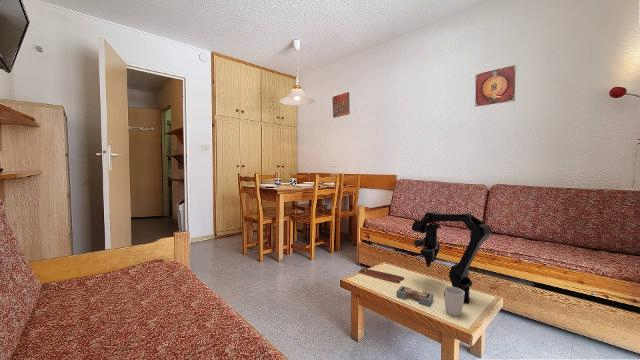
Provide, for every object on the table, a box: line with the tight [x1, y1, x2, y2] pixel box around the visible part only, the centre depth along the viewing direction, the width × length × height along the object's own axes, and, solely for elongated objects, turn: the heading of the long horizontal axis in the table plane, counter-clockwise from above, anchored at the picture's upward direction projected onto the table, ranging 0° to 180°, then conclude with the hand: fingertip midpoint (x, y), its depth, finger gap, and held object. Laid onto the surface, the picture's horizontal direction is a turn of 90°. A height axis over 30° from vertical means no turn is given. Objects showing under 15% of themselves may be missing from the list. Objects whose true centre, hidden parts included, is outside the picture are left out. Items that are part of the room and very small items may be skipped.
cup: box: [443, 286, 465, 317], centre depth 116 cm, size 8×8×10 cm
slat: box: [403, 288, 428, 303], centre depth 129 cm, size 11×4×4 cm, turn 54°
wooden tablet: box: [358, 267, 405, 284], centre depth 157 cm, size 27×10×2 cm, turn 54°
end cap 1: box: [395, 285, 412, 301], centre depth 132 cm, size 5×7×3 cm, turn 144°
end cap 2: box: [418, 291, 434, 307], centre depth 126 cm, size 5×7×3 cm, turn 144°
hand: (430, 264), depth 142 cm, fingers open, 9 cm apart
